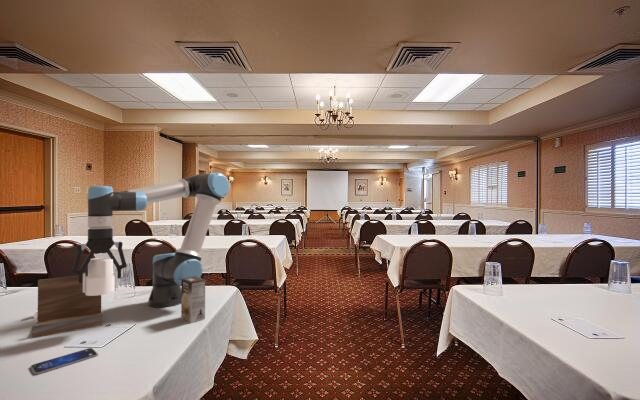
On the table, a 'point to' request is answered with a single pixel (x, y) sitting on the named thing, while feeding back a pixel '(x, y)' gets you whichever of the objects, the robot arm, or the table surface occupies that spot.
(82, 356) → the smartphone
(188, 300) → the coffee box
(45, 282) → the wooden arch stand
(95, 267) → the white stepped block
